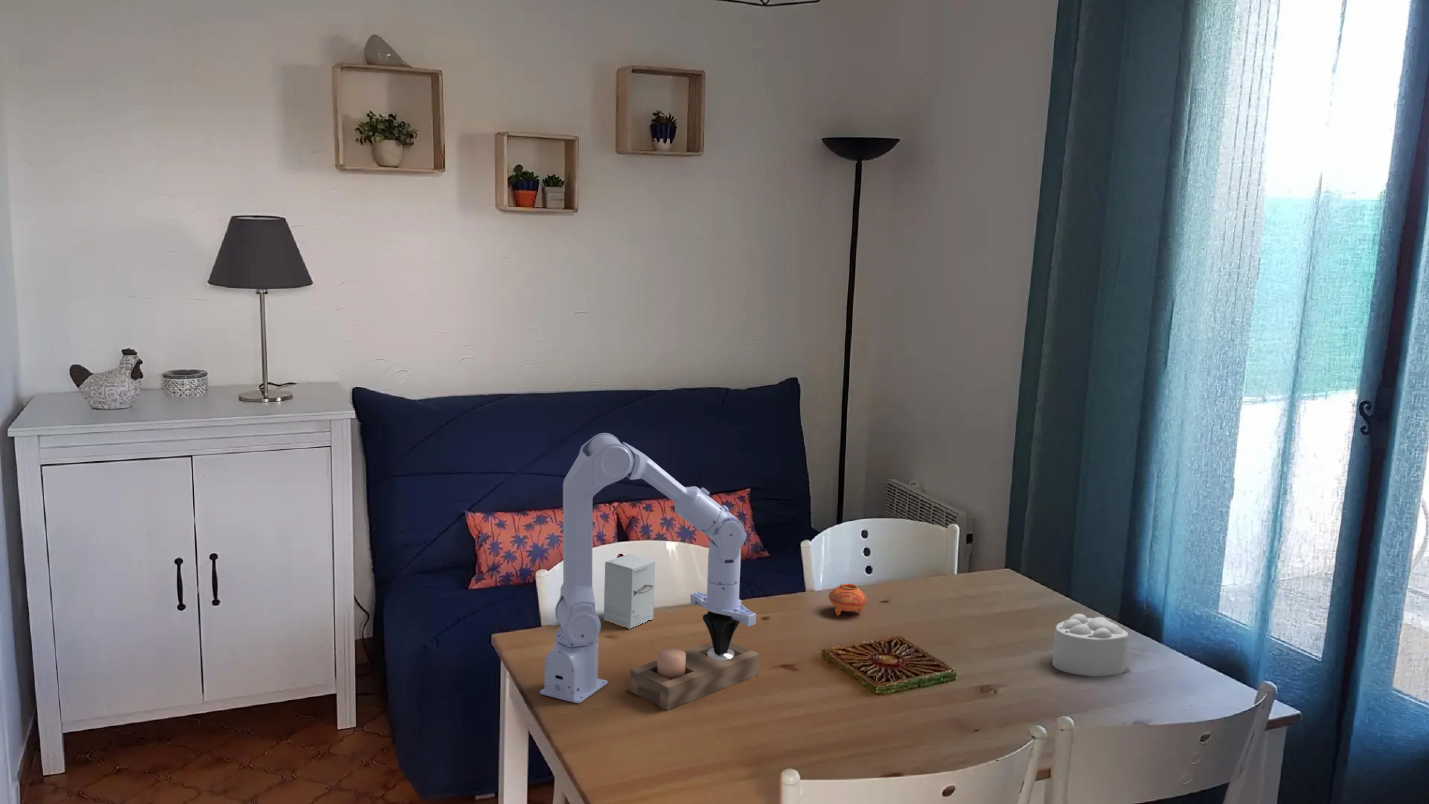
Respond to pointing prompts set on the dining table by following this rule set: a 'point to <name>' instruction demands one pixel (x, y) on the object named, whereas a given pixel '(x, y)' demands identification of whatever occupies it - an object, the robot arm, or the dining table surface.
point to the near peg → (671, 663)
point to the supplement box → (629, 590)
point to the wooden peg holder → (694, 676)
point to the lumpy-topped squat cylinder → (1090, 646)
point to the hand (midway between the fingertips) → (720, 652)
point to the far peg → (720, 657)
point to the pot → (847, 598)
